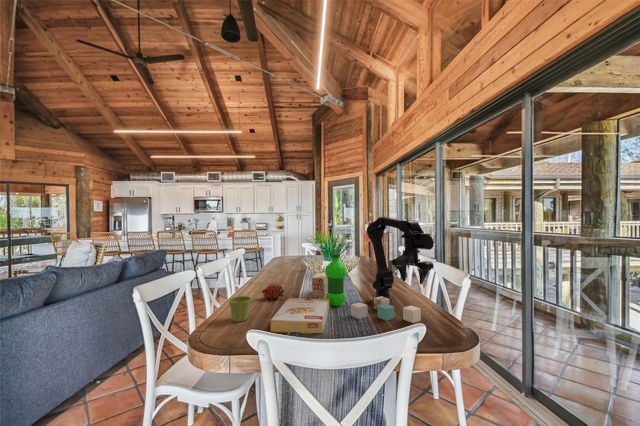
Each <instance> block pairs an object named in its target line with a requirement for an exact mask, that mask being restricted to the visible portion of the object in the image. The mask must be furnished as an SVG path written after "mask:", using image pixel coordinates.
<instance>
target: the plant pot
mask: <svg viewBox="0 0 640 426" xmlns="http://www.w3.org/2000/svg"><path fill="white" fill-rule="evenodd" d="M251 301H252V297H251V296H246V295H239V296H234V297H231V298H229V299H228V303H229V306H230V311H231V317H232V322H237V323H242V322H245V321H246V320H248V318H249V310H250V303H251Z"/></svg>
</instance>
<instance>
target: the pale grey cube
mask: <svg viewBox="0 0 640 426" xmlns="http://www.w3.org/2000/svg"><path fill="white" fill-rule="evenodd" d="M350 316H351V317H353V318H355V319H358V320H361V319H363V318H367V317H368V305H367V304H365V303H362V302H359V301H358V302H355V303H351V304H350Z"/></svg>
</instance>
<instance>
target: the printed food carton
mask: <svg viewBox="0 0 640 426" xmlns="http://www.w3.org/2000/svg"><path fill="white" fill-rule="evenodd" d="M311 289H312V290H311V298H326V295H327V292H328V277H327V276H326V275H325V272H317V273H315V274H314V275H313V276H312V277H311Z"/></svg>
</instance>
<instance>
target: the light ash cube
mask: <svg viewBox="0 0 640 426" xmlns="http://www.w3.org/2000/svg"><path fill="white" fill-rule="evenodd" d="M390 299H391V298H390ZM390 299H389V298H385V297H382V296H381V297H376V296H375V297H374V298H373V308H374V309H375V310H377V306H379V305H383V304H388V305H390V303H391V301H390Z"/></svg>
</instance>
